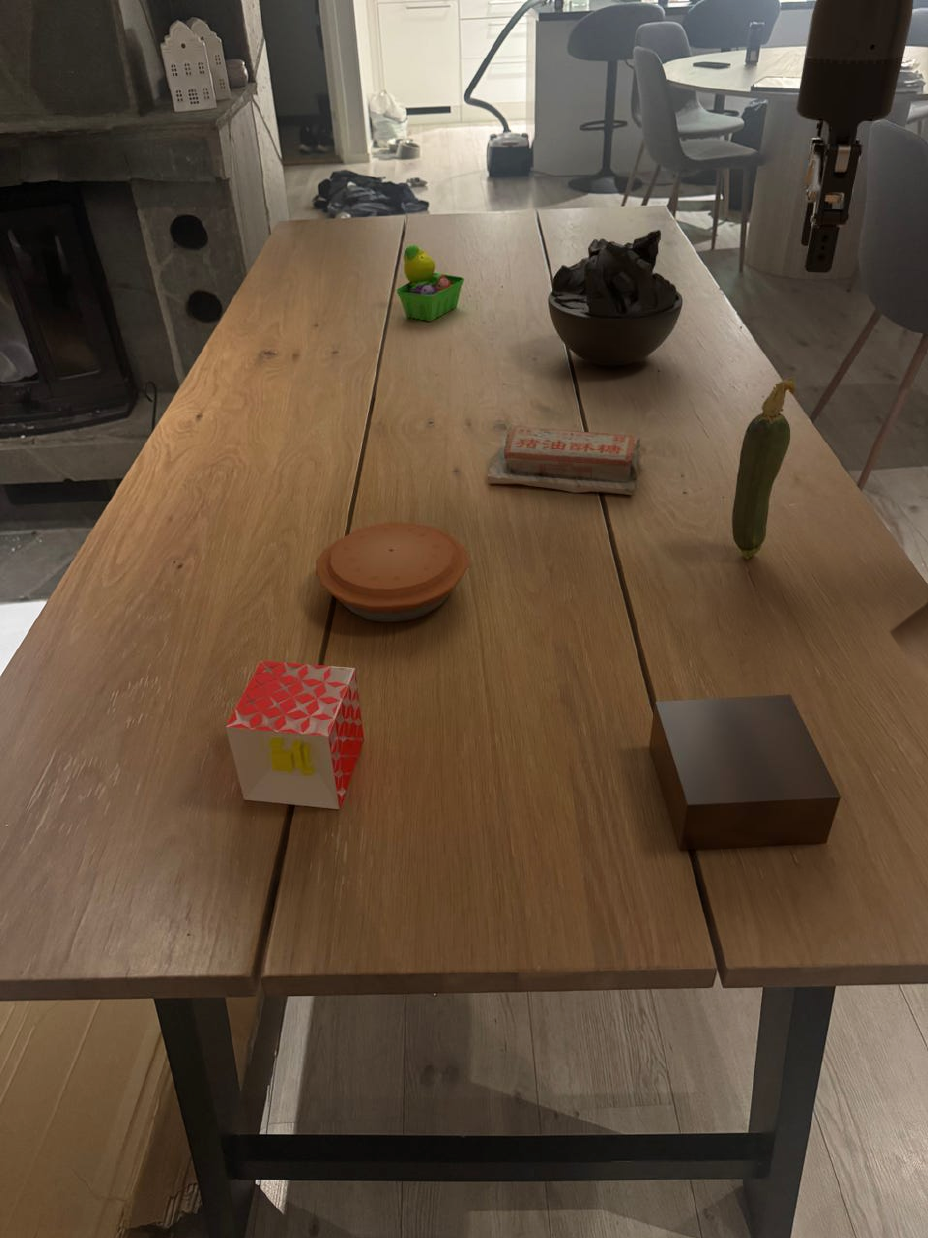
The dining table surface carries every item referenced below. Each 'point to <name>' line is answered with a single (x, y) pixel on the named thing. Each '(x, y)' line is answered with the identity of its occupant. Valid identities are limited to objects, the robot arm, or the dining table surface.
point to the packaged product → (567, 460)
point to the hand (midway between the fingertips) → (814, 257)
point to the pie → (392, 570)
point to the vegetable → (760, 470)
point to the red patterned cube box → (297, 734)
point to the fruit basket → (427, 287)
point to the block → (741, 773)
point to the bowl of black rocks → (614, 302)
